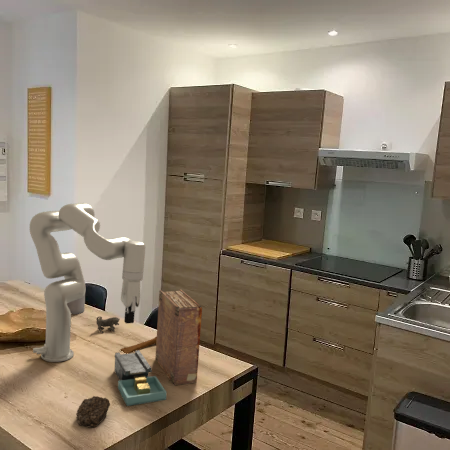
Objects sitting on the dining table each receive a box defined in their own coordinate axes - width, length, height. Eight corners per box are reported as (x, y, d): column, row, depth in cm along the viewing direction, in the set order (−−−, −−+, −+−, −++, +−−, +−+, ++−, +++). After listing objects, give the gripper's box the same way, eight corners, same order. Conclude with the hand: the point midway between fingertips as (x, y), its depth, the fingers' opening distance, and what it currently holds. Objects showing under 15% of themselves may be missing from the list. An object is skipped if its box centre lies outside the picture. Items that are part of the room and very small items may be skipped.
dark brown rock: (89, 406, 157) (90, 391, 157) (115, 413, 154) (115, 399, 153) (66, 422, 147) (67, 407, 146) (94, 431, 143) (94, 415, 143)
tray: (126, 406, 159) (127, 397, 158) (117, 388, 170) (118, 380, 170) (166, 399, 165) (166, 391, 164) (155, 383, 176) (155, 375, 176)
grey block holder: (124, 389, 170) (125, 371, 169) (113, 369, 185) (114, 352, 184) (151, 385, 174) (152, 367, 173) (138, 366, 189) (139, 350, 188)
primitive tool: (125, 355, 200) (126, 347, 200) (118, 351, 204) (118, 343, 204) (160, 344, 214) (161, 337, 214) (153, 341, 218) (153, 334, 218)
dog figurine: (98, 333, 221) (98, 318, 220) (94, 329, 226) (94, 314, 225) (122, 330, 228) (123, 315, 227) (118, 326, 232) (118, 312, 231)
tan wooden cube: (136, 383, 167) (136, 391, 168) (138, 389, 164) (138, 397, 164) (147, 382, 169) (147, 390, 169) (150, 388, 165) (149, 396, 165)
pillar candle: (65, 308, 253) (66, 281, 251) (84, 307, 256) (85, 281, 254) (65, 314, 244) (66, 286, 242) (84, 314, 247) (85, 286, 245)
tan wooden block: (133, 386, 171) (134, 390, 168) (133, 376, 171) (135, 380, 168) (144, 385, 173) (145, 389, 170) (144, 375, 172) (146, 379, 169)
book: (155, 358, 198) (159, 289, 194) (176, 356, 202) (180, 288, 198) (173, 386, 175) (178, 308, 172) (196, 382, 179) (202, 307, 175)
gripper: (118, 269, 178) (114, 316, 180) (127, 280, 164) (123, 330, 167) (137, 269, 181) (134, 315, 184) (148, 280, 168) (144, 329, 170)
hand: (129, 322), depth 175 cm, fingers closed
